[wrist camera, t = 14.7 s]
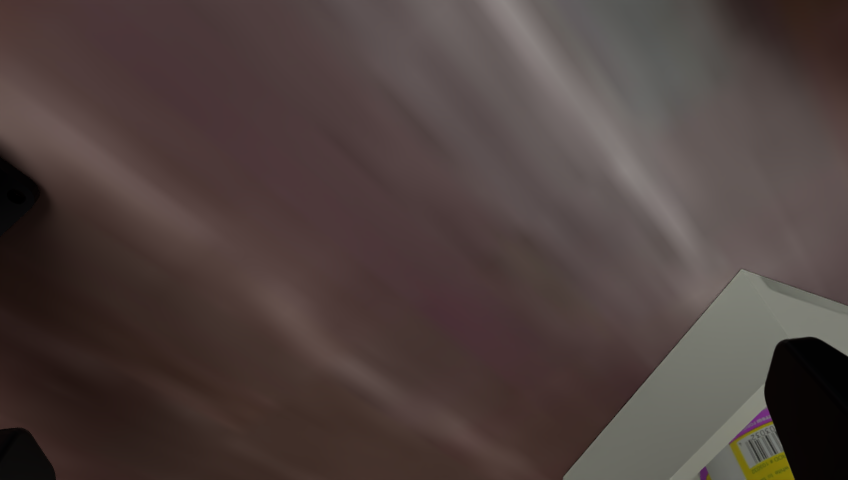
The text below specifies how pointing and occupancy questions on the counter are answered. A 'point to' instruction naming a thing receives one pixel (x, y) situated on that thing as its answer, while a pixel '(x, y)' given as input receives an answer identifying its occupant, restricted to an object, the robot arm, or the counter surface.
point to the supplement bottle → (751, 455)
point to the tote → (709, 383)
